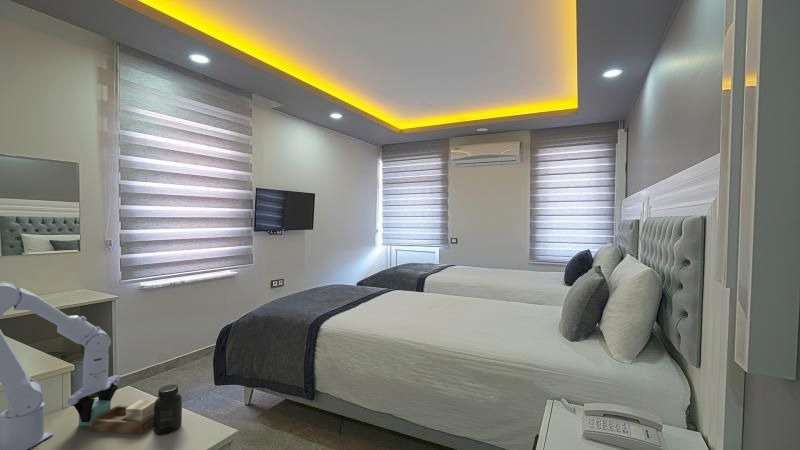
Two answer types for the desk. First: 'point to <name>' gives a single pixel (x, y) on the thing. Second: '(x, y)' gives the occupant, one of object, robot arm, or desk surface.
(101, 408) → the teal block
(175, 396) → the supplement bottle
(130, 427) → the walnut puzzle board
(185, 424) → the desk surface
